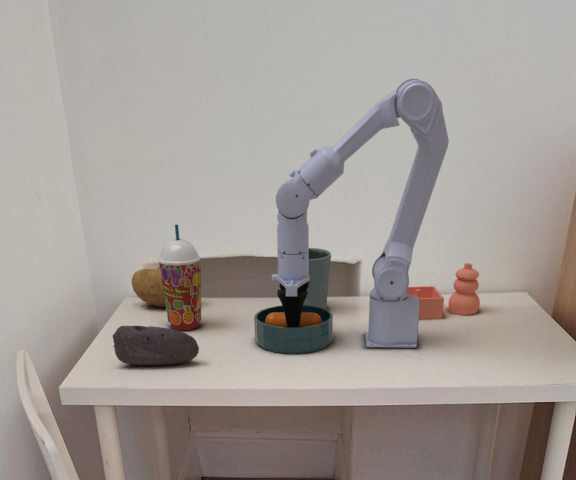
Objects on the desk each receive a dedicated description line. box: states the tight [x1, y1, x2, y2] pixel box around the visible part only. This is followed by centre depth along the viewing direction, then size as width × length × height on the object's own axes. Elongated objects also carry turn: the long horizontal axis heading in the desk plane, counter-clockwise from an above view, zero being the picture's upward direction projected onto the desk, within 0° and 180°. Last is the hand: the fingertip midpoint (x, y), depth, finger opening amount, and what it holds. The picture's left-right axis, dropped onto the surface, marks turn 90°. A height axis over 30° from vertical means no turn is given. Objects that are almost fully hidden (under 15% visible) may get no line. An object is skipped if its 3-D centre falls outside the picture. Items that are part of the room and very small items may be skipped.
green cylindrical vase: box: [303, 247, 332, 310], centre depth 161 cm, size 10×10×12 cm
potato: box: [131, 268, 166, 308], centre depth 166 cm, size 10×14×8 cm
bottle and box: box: [407, 262, 481, 320], centre depth 159 cm, size 18×10×10 cm, turn 93°
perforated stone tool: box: [112, 325, 200, 366], centre depth 134 cm, size 15×5×7 cm, turn 88°
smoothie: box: [157, 224, 202, 331], centre depth 150 cm, size 8×8×20 cm
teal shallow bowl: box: [253, 304, 334, 355], centre depth 145 cm, size 15×15×5 cm
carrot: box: [265, 312, 322, 327], centre depth 144 cm, size 11×4×4 cm, turn 87°
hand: (293, 324), depth 144 cm, fingers closed on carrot, 3 cm apart
